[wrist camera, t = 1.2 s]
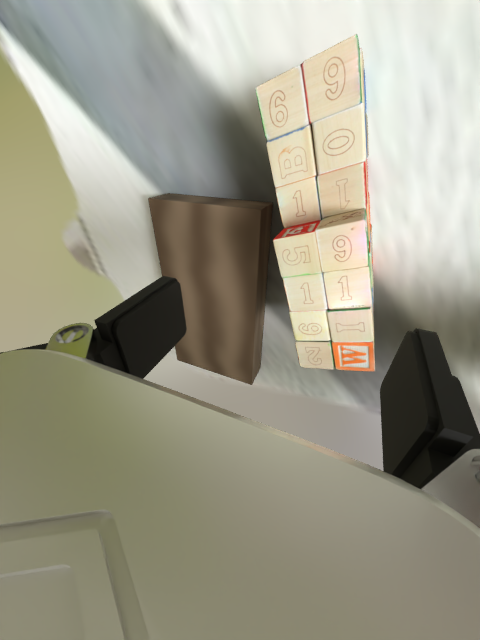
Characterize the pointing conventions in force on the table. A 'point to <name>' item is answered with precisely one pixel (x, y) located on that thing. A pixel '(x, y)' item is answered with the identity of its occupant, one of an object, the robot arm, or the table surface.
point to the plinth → (217, 277)
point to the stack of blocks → (324, 205)
